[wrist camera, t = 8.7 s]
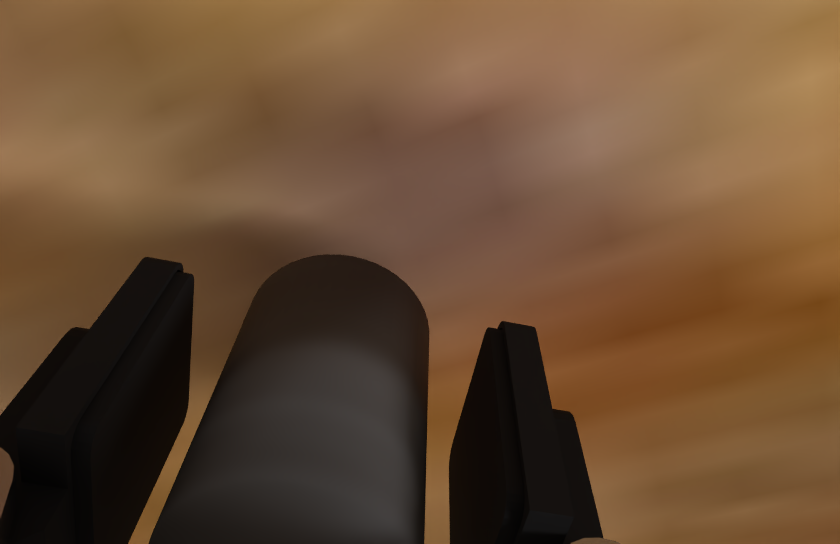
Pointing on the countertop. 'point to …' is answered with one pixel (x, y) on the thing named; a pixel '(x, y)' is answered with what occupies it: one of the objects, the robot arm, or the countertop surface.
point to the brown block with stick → (313, 417)
